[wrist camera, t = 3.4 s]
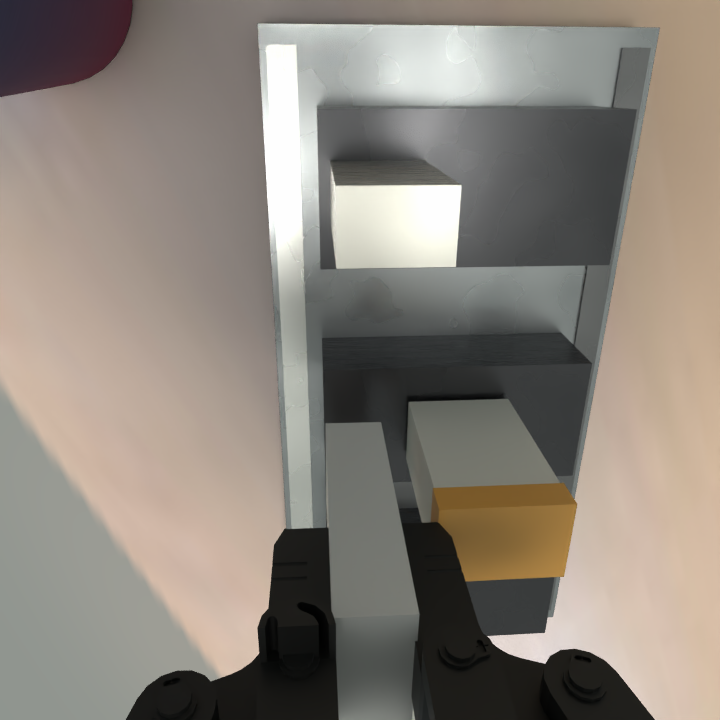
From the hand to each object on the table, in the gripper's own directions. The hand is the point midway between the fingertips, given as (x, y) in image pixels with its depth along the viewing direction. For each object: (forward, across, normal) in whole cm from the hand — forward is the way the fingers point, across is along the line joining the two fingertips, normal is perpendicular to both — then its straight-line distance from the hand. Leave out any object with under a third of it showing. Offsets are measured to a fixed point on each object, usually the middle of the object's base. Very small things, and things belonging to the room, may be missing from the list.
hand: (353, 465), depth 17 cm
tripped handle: (+2, +3, 0) cm, 4 cm away
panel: (+6, +3, 0) cm, 7 cm away
